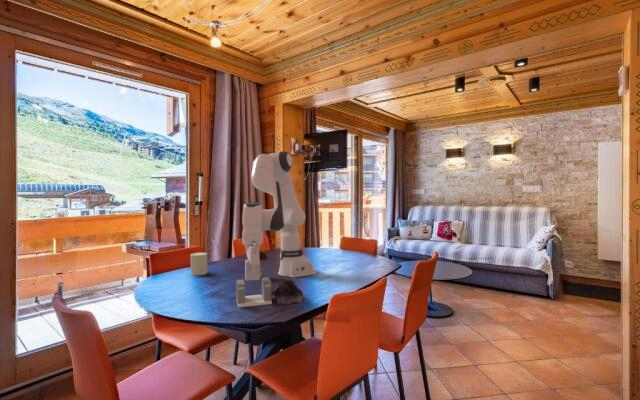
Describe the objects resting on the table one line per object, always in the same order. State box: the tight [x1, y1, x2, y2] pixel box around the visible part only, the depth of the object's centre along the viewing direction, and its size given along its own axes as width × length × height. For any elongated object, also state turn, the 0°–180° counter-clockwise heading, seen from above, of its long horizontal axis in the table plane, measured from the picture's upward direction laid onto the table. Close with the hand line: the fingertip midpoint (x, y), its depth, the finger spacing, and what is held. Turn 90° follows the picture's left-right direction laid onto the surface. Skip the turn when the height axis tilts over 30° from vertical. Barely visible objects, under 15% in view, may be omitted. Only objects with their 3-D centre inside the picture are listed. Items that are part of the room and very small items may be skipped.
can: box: [190, 252, 208, 276], centre depth 187 cm, size 9×9×12 cm
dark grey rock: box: [274, 279, 304, 305], centre depth 141 cm, size 14×14×10 cm
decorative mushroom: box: [259, 250, 269, 278], centre depth 178 cm, size 11×11×15 cm
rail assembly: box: [235, 276, 273, 308], centre depth 139 cm, size 14×11×9 cm
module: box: [244, 258, 261, 281], centre depth 139 cm, size 6×5×8 cm
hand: (252, 271), depth 139 cm, fingers closed on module, 5 cm apart
